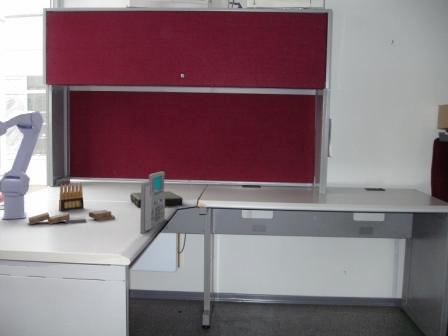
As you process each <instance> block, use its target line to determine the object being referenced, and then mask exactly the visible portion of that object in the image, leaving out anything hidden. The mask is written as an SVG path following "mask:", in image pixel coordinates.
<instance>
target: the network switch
mask: <svg viewBox="0 0 448 336" xmlns="http://www.w3.org/2000/svg"><path fill="white" fill-rule="evenodd" d="M164 193H165V206H167V207H181V206H183V199H184V198H183V197H182V196H181V195H178V194H176V193H174V192H172V191H170V190H169V191H168V190H167V191H164ZM130 202H132V203H133V204H134V205H135V206H136V207H137V208H139V209H141V192H131V193H130Z"/></svg>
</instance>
